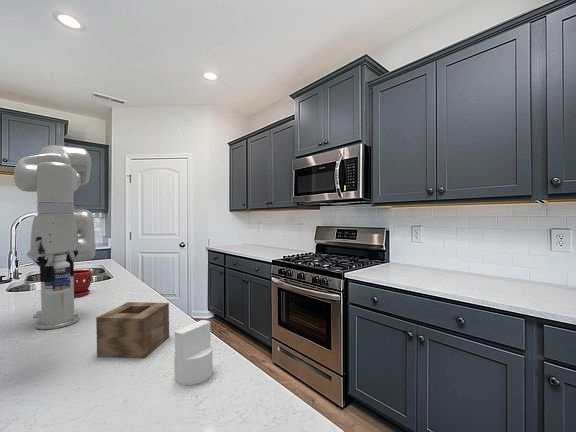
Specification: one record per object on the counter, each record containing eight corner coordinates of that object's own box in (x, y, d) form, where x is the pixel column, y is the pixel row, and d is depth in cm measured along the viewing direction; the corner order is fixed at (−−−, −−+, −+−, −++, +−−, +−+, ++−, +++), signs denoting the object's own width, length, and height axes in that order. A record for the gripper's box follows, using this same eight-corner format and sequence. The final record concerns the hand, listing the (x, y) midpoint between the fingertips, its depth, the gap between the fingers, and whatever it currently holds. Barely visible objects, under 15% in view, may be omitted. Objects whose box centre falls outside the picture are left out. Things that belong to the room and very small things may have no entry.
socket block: (97, 356, 82) (96, 317, 82) (128, 335, 96) (127, 302, 96) (144, 358, 81) (143, 318, 81) (169, 336, 95) (168, 302, 95)
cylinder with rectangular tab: (191, 389, 66) (190, 336, 66) (166, 377, 71) (165, 328, 71) (220, 371, 74) (219, 323, 74) (196, 361, 79) (195, 317, 79)
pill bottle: (56, 294, 74) (55, 256, 74) (39, 293, 75) (38, 255, 75) (75, 289, 79) (75, 253, 79) (59, 288, 80) (58, 252, 80)
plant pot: (80, 299, 138) (79, 273, 138) (52, 299, 138) (51, 274, 138) (98, 291, 151) (97, 268, 151) (73, 291, 151) (72, 268, 151)
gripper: (70, 210, 86) (71, 271, 86) (9, 210, 69) (11, 287, 69) (94, 210, 85) (95, 272, 85) (38, 210, 68) (40, 287, 68)
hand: (57, 278), depth 77 cm, fingers closed on pill bottle, 5 cm apart
